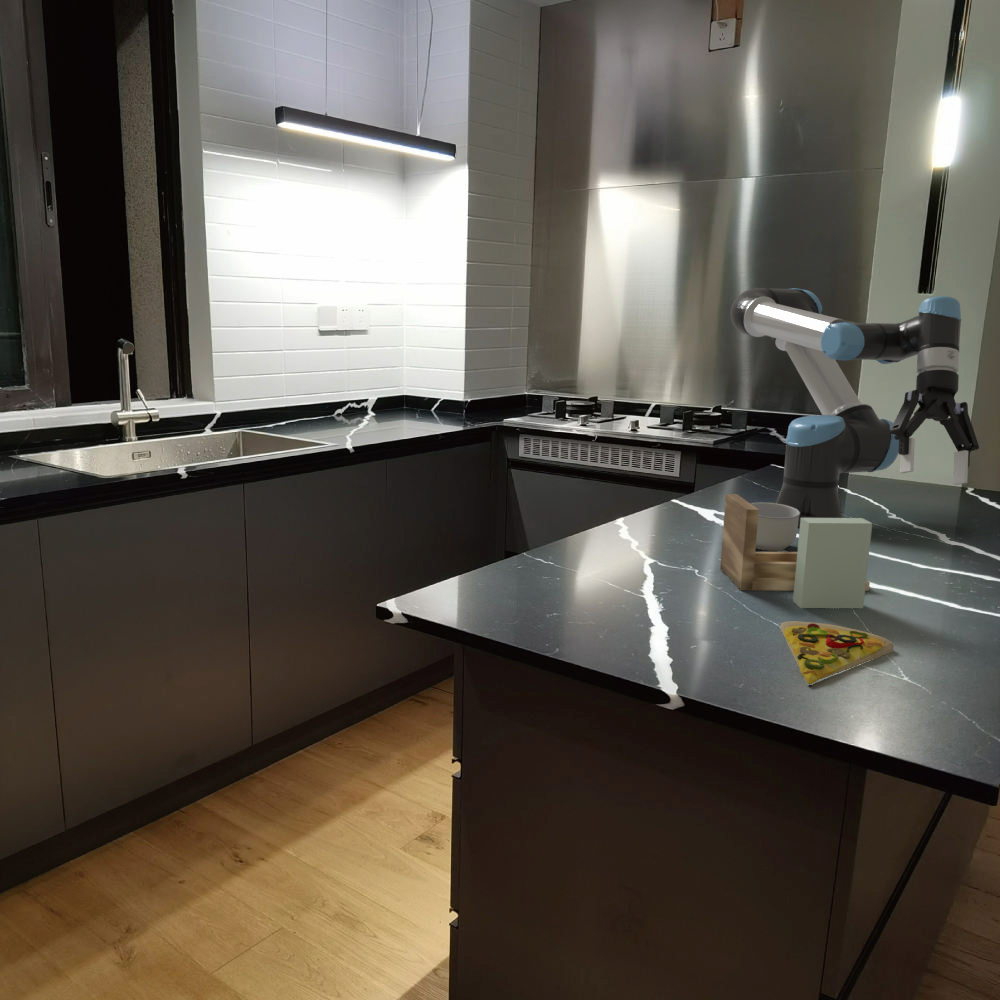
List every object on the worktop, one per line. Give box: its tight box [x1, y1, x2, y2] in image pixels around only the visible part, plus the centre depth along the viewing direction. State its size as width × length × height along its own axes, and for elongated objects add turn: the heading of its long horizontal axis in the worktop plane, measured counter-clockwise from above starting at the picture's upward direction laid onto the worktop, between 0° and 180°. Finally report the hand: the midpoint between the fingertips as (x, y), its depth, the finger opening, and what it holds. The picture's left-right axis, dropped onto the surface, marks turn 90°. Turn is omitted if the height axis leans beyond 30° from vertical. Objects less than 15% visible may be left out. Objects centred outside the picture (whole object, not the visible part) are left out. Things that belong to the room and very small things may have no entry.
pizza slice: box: [779, 620, 895, 684], centre depth 117 cm, size 16×21×3 cm
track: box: [719, 493, 870, 592], centre depth 150 cm, size 22×12×14 cm, turn 92°
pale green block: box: [792, 517, 873, 610], centre depth 138 cm, size 10×4×14 cm, turn 92°
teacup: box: [750, 502, 800, 552], centre depth 172 cm, size 14×11×8 cm
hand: (933, 478), depth 169 cm, fingers open, 13 cm apart
